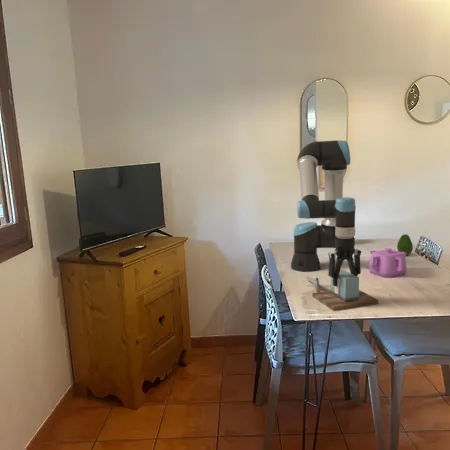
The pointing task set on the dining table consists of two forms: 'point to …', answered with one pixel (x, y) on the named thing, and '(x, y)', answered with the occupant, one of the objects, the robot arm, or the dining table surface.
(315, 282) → the caliper
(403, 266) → the pink lidded pot
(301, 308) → the dining table surface
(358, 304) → the board
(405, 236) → the avocado
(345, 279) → the block
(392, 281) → the dining table surface
